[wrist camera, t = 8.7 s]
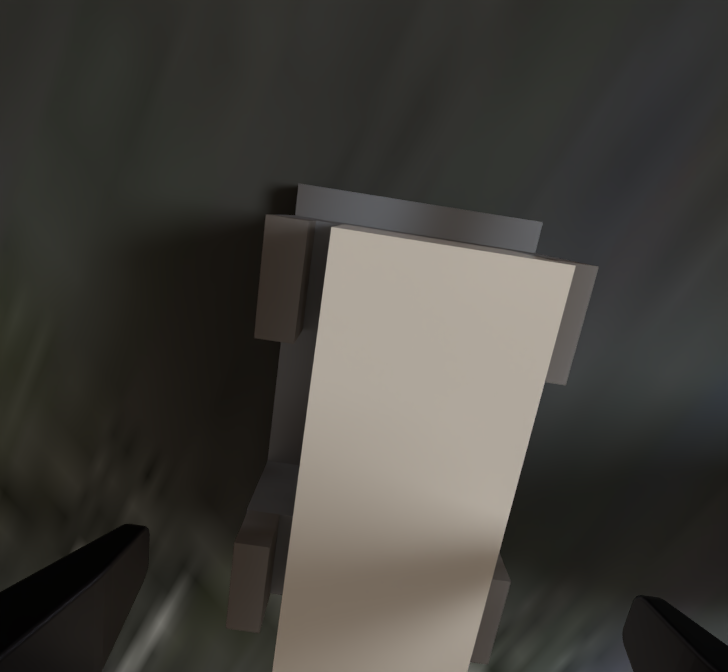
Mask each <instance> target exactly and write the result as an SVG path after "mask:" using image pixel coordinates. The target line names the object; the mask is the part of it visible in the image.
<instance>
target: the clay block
mask: <svg viewBox="0 0 728 672" xmlns="http://www.w3.org/2000/svg"><path fill="white" fill-rule="evenodd" d="M575 267H576V266H575V265H571V264H566V263H562V262H558V261H553V260H549V259H545V258H541V257H536V256H532V255H528V254H523V253H519V252H515V251H510V250H504V249H497V248H491V247H485V246H478V245H472V244H466V243H460V242H453V241H447V240H441V239H434V238H428V237H422V236H415V235H409V234H403V233H396V232H390V231H384V230H378V229H371V228H365V227H359V226H352V225H346V224H343V225H338V226H334V227H331V234H330V241H329V249H328V256H327V264H326V271H325V279H324V286H323V294H322V301H321V309H320V316H319V324H318V331H317V339H316V347H315V354H314V362H313V369H312V377H311V384H310V392H309V399H308V407H307V414H306V422H305V429H304V437H303V444H302V452H301V460H300V467H299V475H298V482H297V490H296V497H295V505H294V512H293V520H292V527H291V535H290V542H289V550H288V557H287V565H286V573H285V580H284V588H283V595H282V603H281V610H280V618H279V625H278V633H277V640H276V648H275V655H274V663H273V670H272V672H467V671H468V667H469V663H470V660H471V656H472V652H473V649H474V645H475V641H476V637H477V634H478V630H479V626H480V622H481V619H482V615H483V611H484V607H485V604H486V600H487V596H488V592H489V589H490V585H491V581H492V577H493V574H494V570H495V566H496V562H497V559H498V555H499V551H500V548H501V544H502V540H503V536H504V533H505V529H506V525H507V521H508V518H509V514H510V510H511V506H512V503H513V499H514V495H515V491H516V488H517V484H518V480H519V476H520V473H521V469H522V465H523V461H524V458H525V454H526V450H527V447H528V443H529V439H530V435H531V432H532V428H533V424H534V420H535V417H536V413H537V409H538V405H539V402H540V398H541V394H542V390H543V387H544V383H545V379H546V375H547V372H548V368H549V364H550V360H551V357H552V353H553V349H554V345H555V342H556V338H557V334H558V331H559V327H560V323H561V319H562V316H563V312H564V308H565V304H566V301H567V297H568V293H569V289H570V286H571V282H572V278H573V274H574V271H575Z"/></svg>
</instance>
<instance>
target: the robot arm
mask: <svg viewBox="0 0 728 672" xmlns="http://www.w3.org/2000/svg"><path fill="white" fill-rule="evenodd" d="M149 536H150V534H149V529H148V528H147V527H146V526H140V525H133V524H124V525H122V526H120V527H118V528H116V529H114V530H112V531H111V532H109V533H107V534H105V535H103V536H102V537H100V538H98V539H96V540H94V541H92V542H91V543H89V544H87V545H85V546H83V547H81V548H80V549H78V550H76V551H74V552H72V553H70V554H69V555H67V556H65V557H63V558H61V559H59V560H58V561H56V562H54V563H52V564H50V565H49V566H47V567H45V568H43V569H41V570H39V571H38V572H36V573H34V574H32V575H30V576H28V577H27V578H25V579H23V580H21V581H19V582H17V583H16V584H14V585H12V586H10V587H8V588H7V589H5V590H3V591H1V592H0V672H101V671H102V669H103V667H104V665H105V663H106V661H107V659H108V657H109V655H110V653H111V651H112V648H113V646H114V644H115V642H116V640H117V638H118V635H119V633H120V631H121V629H122V627H123V625H124V622H125V620H126V618H127V616H128V614H129V612H130V609H131V607H132V605H133V603H134V601H135V599H136V596H137V594H138V592H139V590H140V588H141V586H142V583H143V581H144V579H145V576H146V573H147V569H148V560H149ZM623 643H624V646H625V649H626V652H627V655H628V658H629V660H630V663H631V666H632V669H633V671H634V672H728V646H727V645H726V644H725V643H723V642H722V641H720V640H719V639H718V638H716V637H715V636H713V635H712V634H711V633H709V632H708V631H706V630H705V629H704V628H702V627H701V626H699V625H698V624H697V623H695V622H694V621H693V620H691V619H690V618H688V617H687V616H686V615H684V614H683V613H681V612H680V611H679V610H677V609H676V608H674V607H673V606H672V605H670V604H669V603H667V602H666V601H665V600H663V599H661V598H658V597H651V596H644V595H640V596H637V597H636V598H635V599H634V601H633V603H632V606H631V608H630V611H629V614H628V617H627V620H626V622H625V625H624V628H623Z"/></svg>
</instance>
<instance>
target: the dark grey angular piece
mask: <svg viewBox="0 0 728 672" xmlns="http://www.w3.org/2000/svg"><path fill="white" fill-rule="evenodd" d="M542 223H543V222H538V221H531V220H525V219H519V218H513V217H506V216H500V215H494V214H487V213H481V212H475V211H469V210H462V209H456V208H450V207H443V206H437V205H431V204H425V203H418V202H412V201H406V200H399V199H393V198H387V197H381V196H374V195H368V194H362V193H355V192H349V191H343V190H337V189H330V188H324V187H318V186H311V185H305V184H299V185H298V194H297V203H296V212H295V215H269V214H266V218H265V228H264V239H263V249H262V259H261V270H260V280H259V291H258V301H257V311H256V322H255V332H254V338H257V339H264V340H270V341H277V342H281V346H280V355H279V364H278V372H277V381H276V390H275V399H274V408H273V417H272V426H271V435H270V444H269V453H268V461H267V463H266V466H265V468H264V470H263V473H262V475H261V477H260V480H259V482H258V484H257V486H256V489H255V491H254V493H253V496H252V498H251V500H250V503H249V505H248V507H247V510H246V516H245V518H244V521H243V523H242V525H241V528H240V530H239V533H238V535H237V537H236V540H235V542H234V550H233V560H232V570H231V581H230V591H229V602H228V612H227V622H226V628H227V629H234V630H241V631H249V632H256V633H260V629H261V625H262V622H263V618H264V614H265V611H266V607H267V603H268V600H269V596H270V593H273V594H280V595H283V588H284V580H285V573H286V565H287V557H288V550H289V542H290V535H291V527H292V520H293V512H294V505H295V497H296V490H297V482H298V475H299V467H300V460H301V452H302V444H303V437H304V429H305V422H306V414H307V407H308V399H309V392H310V384H311V377H312V369H313V362H314V354H315V347H316V339H317V331H318V324H319V316H320V309H321V301H322V294H323V286H324V279H325V271H326V264H327V256H328V249H329V241H330V234H331V227H334V226H338V225H343V224H346V225H352V226H359V227H365V228H371V229H378V230H384V231H390V232H396V233H403V234H409V235H415V236H422V237H428V238H434V239H441V240H447V241H453V242H460V243H466V244H472V245H478V246H485V247H491V248H497V249H504V250H510V251H515V252H519V253H523V254H528V255H532V256H536V257H541V258H545V259H549V260H553V261H558V262H562V263H566V264H571V265H575V266H576V267H575V271H574V274H573V278H572V282H571V286H570V289H569V293H568V297H567V301H566V304H565V308H564V312H563V316H562V319H561V323H560V327H559V331H558V334H557V338H556V342H555V345H554V349H553V353H552V357H551V360H550V364H549V368H548V372H547V375H546V379H545V382H547V383H554V384H561V385H566V382H567V379H568V375H569V372H570V368H571V365H572V361H573V357H574V354H575V350H576V347H577V343H578V339H579V336H580V332H581V329H582V325H583V321H584V318H585V314H586V311H587V307H588V304H589V300H590V296H591V293H592V289H593V286H594V282H595V278H596V275H597V271H598V268H599V267H597V266H593V265H588V264H583V263H579V262H574V261H570V260H565V259H560V258H556V257H551V256H546V255H542V254H537V253H535V252H536V248H537V244H538V240H539V236H540V232H541V227H542ZM510 583H511V581H510V578H509V576H508V573H507V571H506V568H505V565H504V563H503V560H502V557H501V555H500V552H499V555H498V559H497V562H496V566H495V570H494V574H493V577H492V581H491V585H490V589H489V592H488V596H487V600H486V604H485V607H484V611H483V615H482V619H481V622H480V626H479V630H478V634H477V637H476V641H475V645H474V649H473V652H472V656H471V660H470V662H473V663H481V664H488V662H489V659H490V655H491V652H492V648H493V644H494V641H495V637H496V634H497V630H498V626H499V623H500V619H501V616H502V612H503V608H504V605H505V601H506V598H507V594H508V591H509V587H510Z"/></svg>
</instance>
